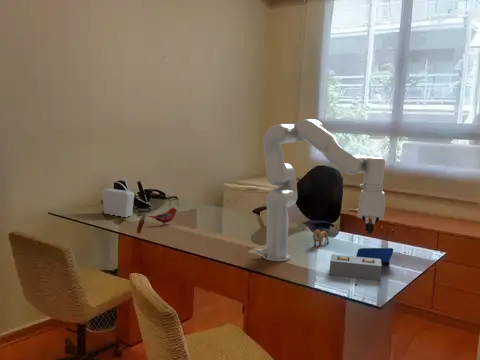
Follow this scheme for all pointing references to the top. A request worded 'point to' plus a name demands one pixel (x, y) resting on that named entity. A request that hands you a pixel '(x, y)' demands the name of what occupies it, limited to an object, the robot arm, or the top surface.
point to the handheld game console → (376, 254)
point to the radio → (118, 201)
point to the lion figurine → (320, 237)
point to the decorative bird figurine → (165, 216)
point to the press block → (355, 267)
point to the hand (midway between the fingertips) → (369, 232)
